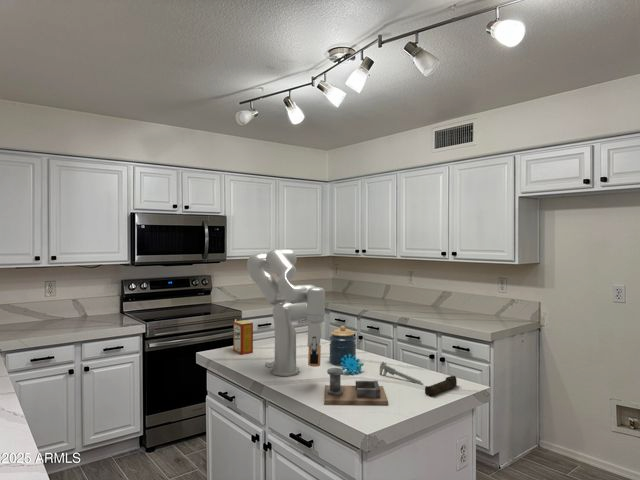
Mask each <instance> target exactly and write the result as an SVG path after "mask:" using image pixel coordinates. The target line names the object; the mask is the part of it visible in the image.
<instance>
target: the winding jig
mask: <svg viewBox="0 0 640 480" xmlns="http://www.w3.org/2000/svg"><path fill="white" fill-rule="evenodd" d="M326 370H327V371H326V372H327V374H328V375H329V384H328V385H326V384H325V385H324V400H323V402H324V405H337V406H338V405H346V406H347V405H348V406H349V405H350V406H351V405H352V406H389V400H388V396H387V393H386V391H385V388H384V385H379V382H378V380H355V385H341V375H343V374H344V370H343V369H342V368H340V367H331V368H327V369H326Z"/></svg>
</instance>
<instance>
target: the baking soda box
mask: <svg viewBox="0 0 640 480" xmlns="http://www.w3.org/2000/svg"><path fill="white" fill-rule="evenodd" d="M232 323H233V327H232V329H233V331H232V333H233V334H232V336H233V339H232V340H233V342H232V343H233V345H232V346H233V349H232V351H233V352H235V353H237V354H239V355H241V356H243V355H248V354H254V323H253V322H252V321H249V320H245V319H242V320H234V321H232Z"/></svg>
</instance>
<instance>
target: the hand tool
mask: <svg viewBox="0 0 640 480" xmlns="http://www.w3.org/2000/svg"><path fill="white" fill-rule="evenodd" d="M457 380H458V379H457V377H456V376H455V375H450V376H446V377H445V379H444V380H442V381H440V382H437V383H434V384H432V385H427V386H425V388H424V394H425V395H426V396H427V397H431V398H433V397H434V396H436V395H437V394H439V393H441V392H444V391H447V390H453V389H455V387H456V386H457V383H458V382H457Z"/></svg>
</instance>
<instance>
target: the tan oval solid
mask: <svg viewBox="0 0 640 480" xmlns="http://www.w3.org/2000/svg"><path fill="white" fill-rule="evenodd" d="M312 346H313V345H312ZM316 346H317V345H316ZM312 349H313V348H312ZM321 350H322V346H321V344H320V345H319V347H318V364H310V354H311V346H309V347H308V358H307V359H308V361H307V365H308V367H321V357H322V355H321V354H322V353H321V352H322V351H321Z"/></svg>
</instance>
